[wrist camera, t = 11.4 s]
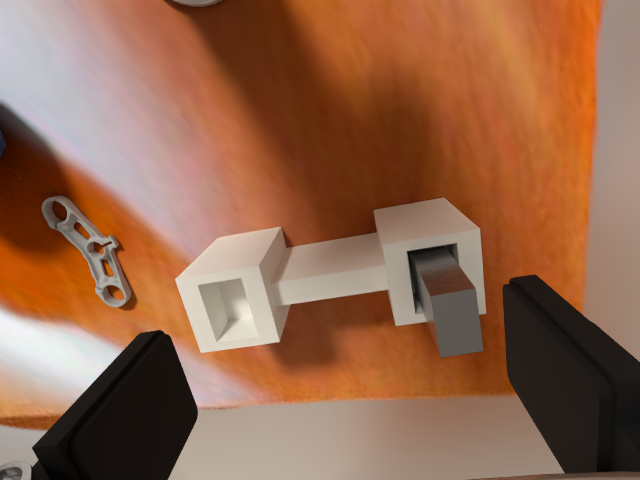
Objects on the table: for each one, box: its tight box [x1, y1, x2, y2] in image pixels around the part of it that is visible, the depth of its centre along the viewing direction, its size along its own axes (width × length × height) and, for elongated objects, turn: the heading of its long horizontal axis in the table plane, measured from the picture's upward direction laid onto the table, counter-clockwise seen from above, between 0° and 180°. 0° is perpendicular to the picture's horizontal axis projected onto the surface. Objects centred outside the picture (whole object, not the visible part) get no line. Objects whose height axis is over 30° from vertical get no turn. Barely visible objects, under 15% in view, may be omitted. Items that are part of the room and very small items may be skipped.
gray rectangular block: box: [407, 245, 484, 358], centre depth 31 cm, size 5×3×11 cm, turn 14°
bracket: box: [42, 196, 131, 307], centre depth 47 cm, size 8×2×15 cm
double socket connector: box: [175, 197, 486, 353], centre depth 39 cm, size 8×27×12 cm, turn 101°
